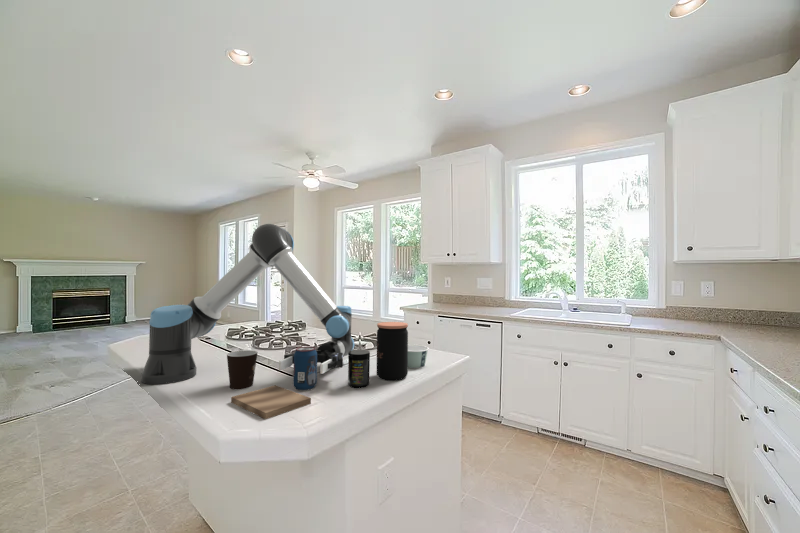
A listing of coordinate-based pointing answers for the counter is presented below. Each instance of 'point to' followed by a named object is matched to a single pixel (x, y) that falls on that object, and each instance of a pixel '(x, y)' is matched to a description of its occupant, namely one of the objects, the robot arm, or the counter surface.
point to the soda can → (305, 368)
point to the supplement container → (358, 368)
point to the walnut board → (270, 401)
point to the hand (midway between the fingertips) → (300, 367)
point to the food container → (417, 355)
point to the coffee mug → (241, 368)
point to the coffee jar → (392, 350)
